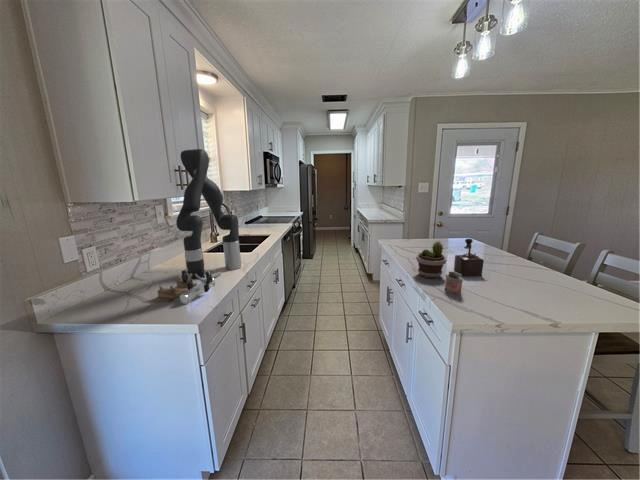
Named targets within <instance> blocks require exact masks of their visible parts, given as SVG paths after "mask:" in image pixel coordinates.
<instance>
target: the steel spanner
mask: <svg viewBox="0 0 640 480" xmlns="http://www.w3.org/2000/svg"><path fill="white" fill-rule="evenodd" d="M204 281H205V280H204ZM215 285H216V282H215V277H212V282H211V283H210V284H209V290H211V289H212V288H213V287H215ZM205 293H206V292H205V291H204V284H203V283H202V282H201V281H200V283H197V285H196V286H195V287H193V288H191V289H190V290H188V291H186V292H185V293H183V294H182V295H180V296H179V300H180V305H181V306H186V305H189V304H190V303H192V302H193V301H195V300H196V299H198V298H199V297H200V296H202V295H203V294H205Z"/></svg>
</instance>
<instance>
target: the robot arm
mask: <svg viewBox="0 0 640 480" xmlns="http://www.w3.org/2000/svg"><path fill="white" fill-rule="evenodd" d="M180 161H181V163H182V165H183V167H184V169H185V170H186V172H187V173H188V174H189V175H190V177H191V180H190V181H189V183H188V185H187V186H186V188H185V189H184V193H183V199H182V206H181V208H180V211H179V213H178V216H177V218H176V222H175V223H176V224H175V225H176V227H177V229H178V230H179V231H181V232H192V233H191V235H188V236H185V237H184V238H183V247H184V258H185V266H186V267H185V269H182V270H181V279H182V281H183V283H186V284H187V286H188V290H190V289H191V288H193V284H192V283H191V282H192V280H193V281H196V280H197V281H200V283H201V282H202V283H203V284H204V291H205V293H208V292H209V291H210V289H209V284H210V283H211V282H212V275H213V274H212V271H211V269H208V270H206V269H205V260H204V253H203V248H202V241H201V239H202V230H203V227H204V226H203V225H204V221H203V220H202V217H200V216H199V215H194V214H193V213H196V212H198V211H200V209H201V201H202V197H203V199H204V201H205V202H206V204H207V205H208V208H209V209H210V210H211V213H212V215H213V217H214V219H215V222H216V224H217V226H218V228H219V229H220V230H223V231H229V233H228V234H226V235H224V236H222V239H221V240H222V245H223V247H222V248H223V256H224V257H223V258H224V266H225V269H226V270H228V271H232V270H233V271H235V270H238V269H240V268H241V267H242V257H241V251H240V240H239V237H240V234H239V233H240V230H239V219H238V217H237V215H236V214H225V213H223V210H222V205H223V202H224V196H223V193H222V192H221V189H220V187H219V186H218V185H217V184H216V183H215V182H214V181H212V180H211V179H210V178H208V176H207V173H208V169H209V164H210V157H209V155H208V153H207V151H206V150H204V149H202V148H196V149H185V150H182V151H181V152H180ZM192 214H193V215H192ZM188 276H189V277H188ZM204 280H205V281H204Z"/></svg>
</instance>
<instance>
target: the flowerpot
mask: <svg viewBox="0 0 640 480" xmlns="http://www.w3.org/2000/svg"><path fill="white" fill-rule="evenodd" d="M443 253H444V245H443V244H442V242H441V240H440V239H438V240H437V241H434V243H432V246H431V249H428V248H426V249H425V248H423V249H422V251H421V252H419V253H418V255H416V257H415V259H416V261H417V263H418V268H417V272H418V274H419V275H420V277H422V278H426V279H431V280H432V279H439V278H440V277H441V276H442V274H443V270H442V269H443V267H444V265H445V264H446V263H447V259H446V257H445V256H444V254H443Z"/></svg>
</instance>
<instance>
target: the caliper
mask: <svg viewBox="0 0 640 480" xmlns="http://www.w3.org/2000/svg"><path fill="white" fill-rule="evenodd" d="M222 273H223V272H222V271H218V272H215V273H212V274H211V275H212V277H214V278H215V277H218V276H220V275H222Z"/></svg>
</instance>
